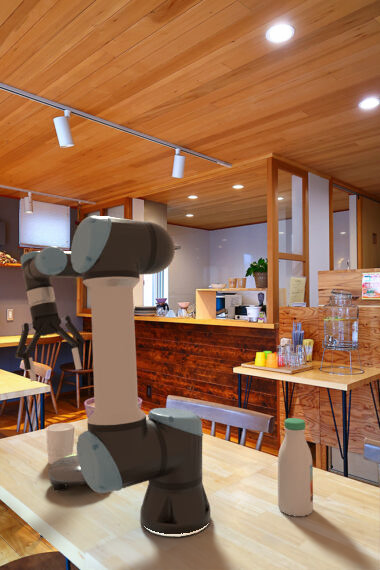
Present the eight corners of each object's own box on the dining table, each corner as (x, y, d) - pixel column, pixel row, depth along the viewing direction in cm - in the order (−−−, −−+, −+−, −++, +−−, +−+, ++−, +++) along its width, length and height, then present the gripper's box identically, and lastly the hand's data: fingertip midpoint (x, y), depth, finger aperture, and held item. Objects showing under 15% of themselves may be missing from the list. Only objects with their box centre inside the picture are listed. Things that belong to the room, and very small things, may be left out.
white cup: (66, 467, 123) (66, 431, 124) (40, 465, 125) (41, 430, 125) (78, 457, 131) (79, 423, 131) (54, 455, 133) (54, 422, 133)
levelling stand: (122, 487, 111) (122, 469, 111) (58, 503, 102) (59, 483, 102) (97, 464, 125) (97, 449, 125) (39, 477, 116) (39, 460, 117)
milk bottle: (307, 521, 94) (306, 427, 94) (272, 512, 98) (272, 421, 98) (317, 506, 100) (316, 418, 101) (284, 498, 104) (284, 413, 105)
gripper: (77, 300, 140) (91, 366, 138) (-5, 312, 125) (9, 386, 122) (86, 295, 134) (101, 364, 132) (2, 308, 119) (16, 385, 117)
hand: (57, 375), depth 127 cm, fingers open, 13 cm apart
